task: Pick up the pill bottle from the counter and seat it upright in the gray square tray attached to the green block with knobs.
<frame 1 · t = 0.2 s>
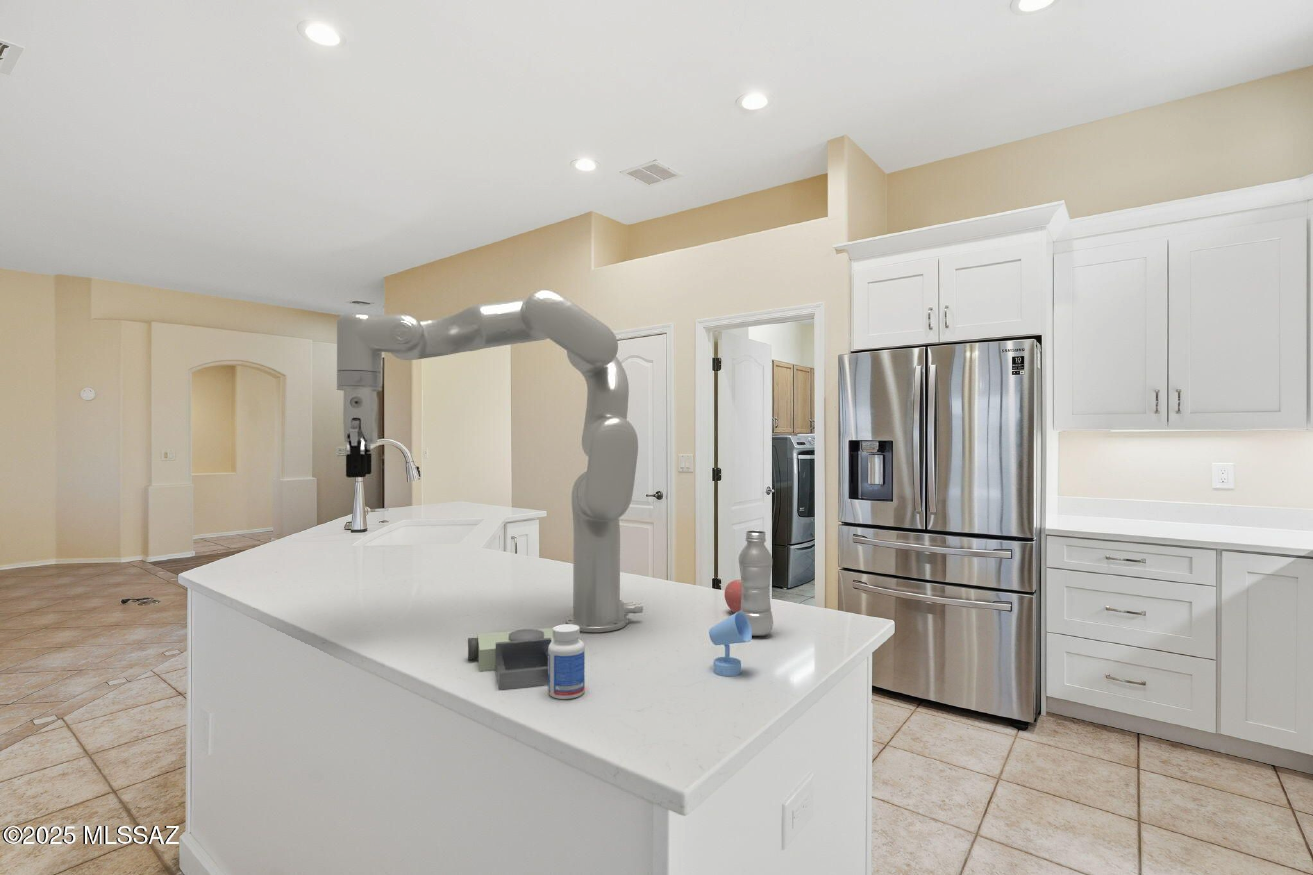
hand: (359, 475, 120), 31 cm above the counter, fingers open, 9 cm apart
gray square tray: (526, 676, 105), on the counter
plastic bottle: (755, 635, 127), on the counter
pill bottle: (566, 694, 98), on the counter
apple: (741, 614, 143), on the counter
spotlight: (729, 672, 107), on the counter
green block with knobs: (520, 658, 113), on the counter
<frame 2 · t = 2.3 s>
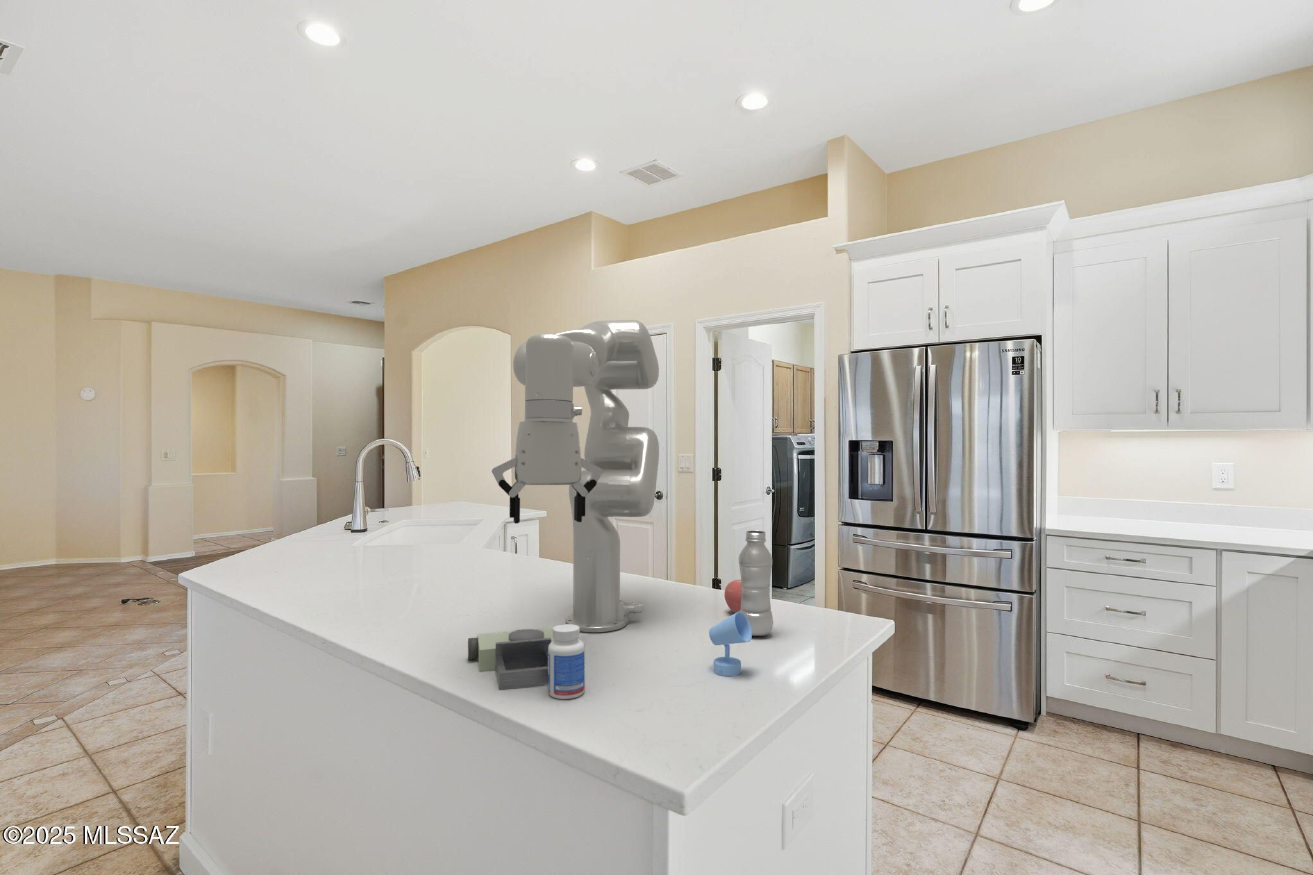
hand: (547, 521, 103), 25 cm above the counter, fingers open, 9 cm apart
nothing on the counter moved.
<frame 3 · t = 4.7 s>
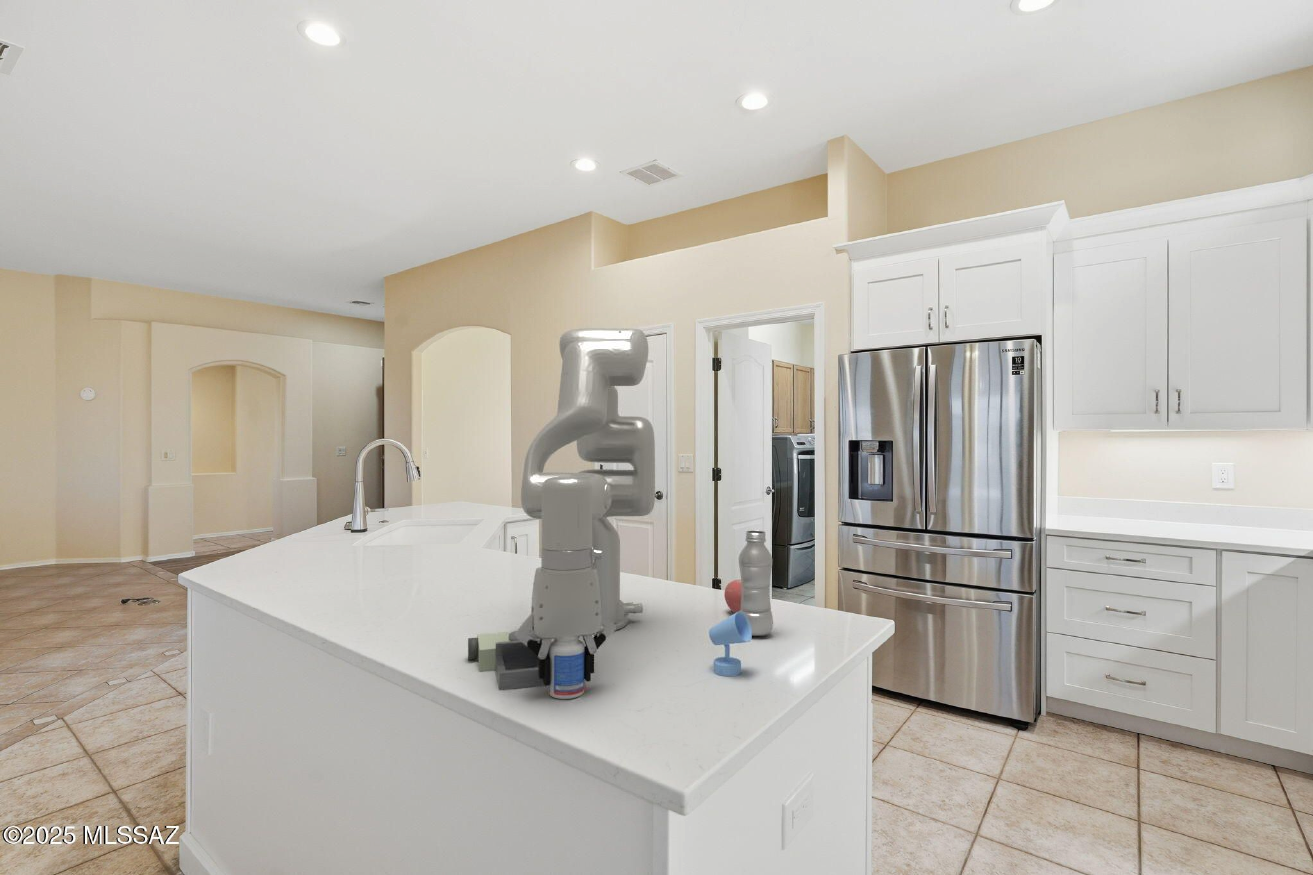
hand: (566, 679, 98), 2 cm above the counter, fingers closed on pill bottle, 5 cm apart
pill bottle: (566, 694, 98), on the counter, touching gripper
everything else where it was.
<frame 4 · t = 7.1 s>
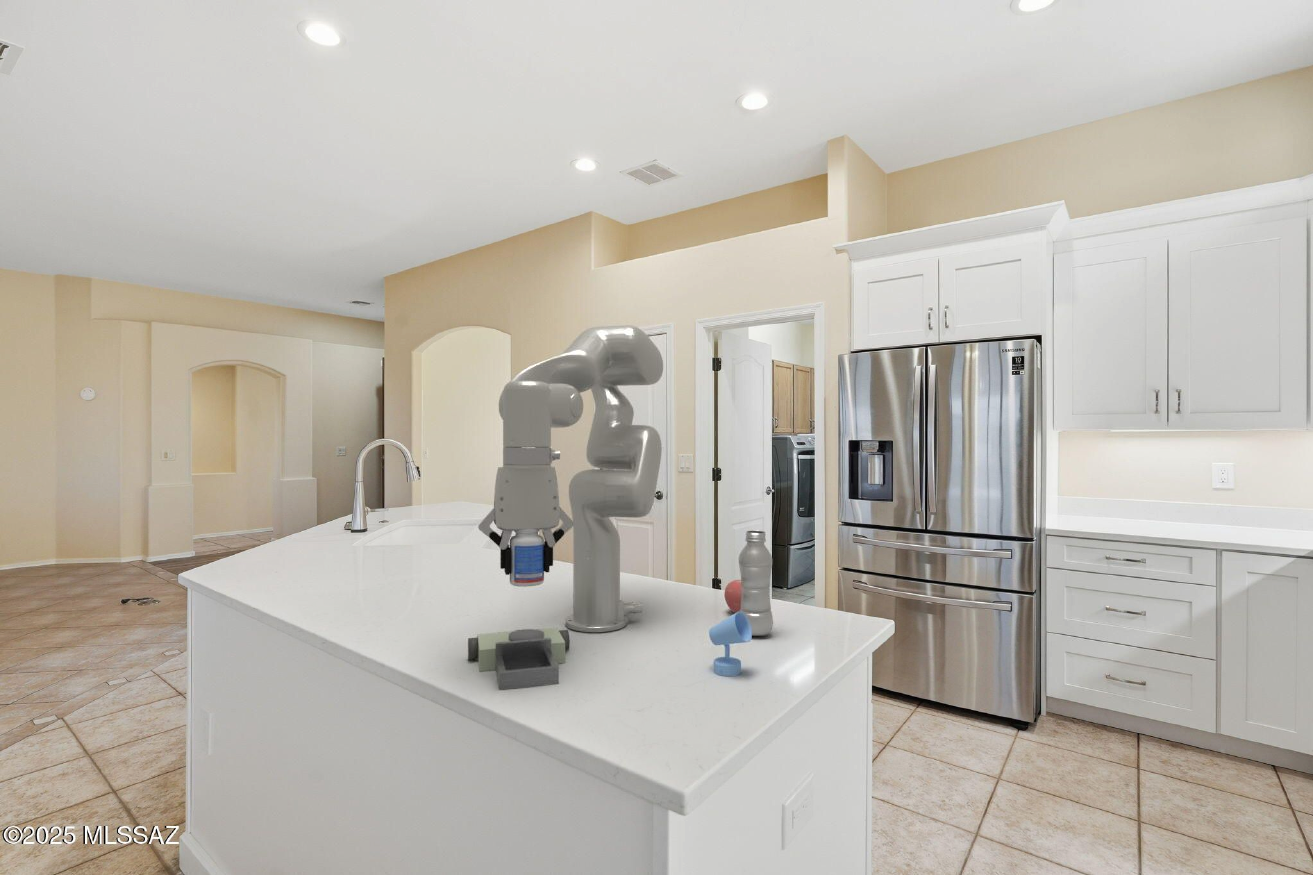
hand: (526, 570, 105), 17 cm above the counter, fingers closed on pill bottle, 5 cm apart
pill bottle: (526, 584, 105), point 15 cm above the counter, touching gripper
everything else where it was.
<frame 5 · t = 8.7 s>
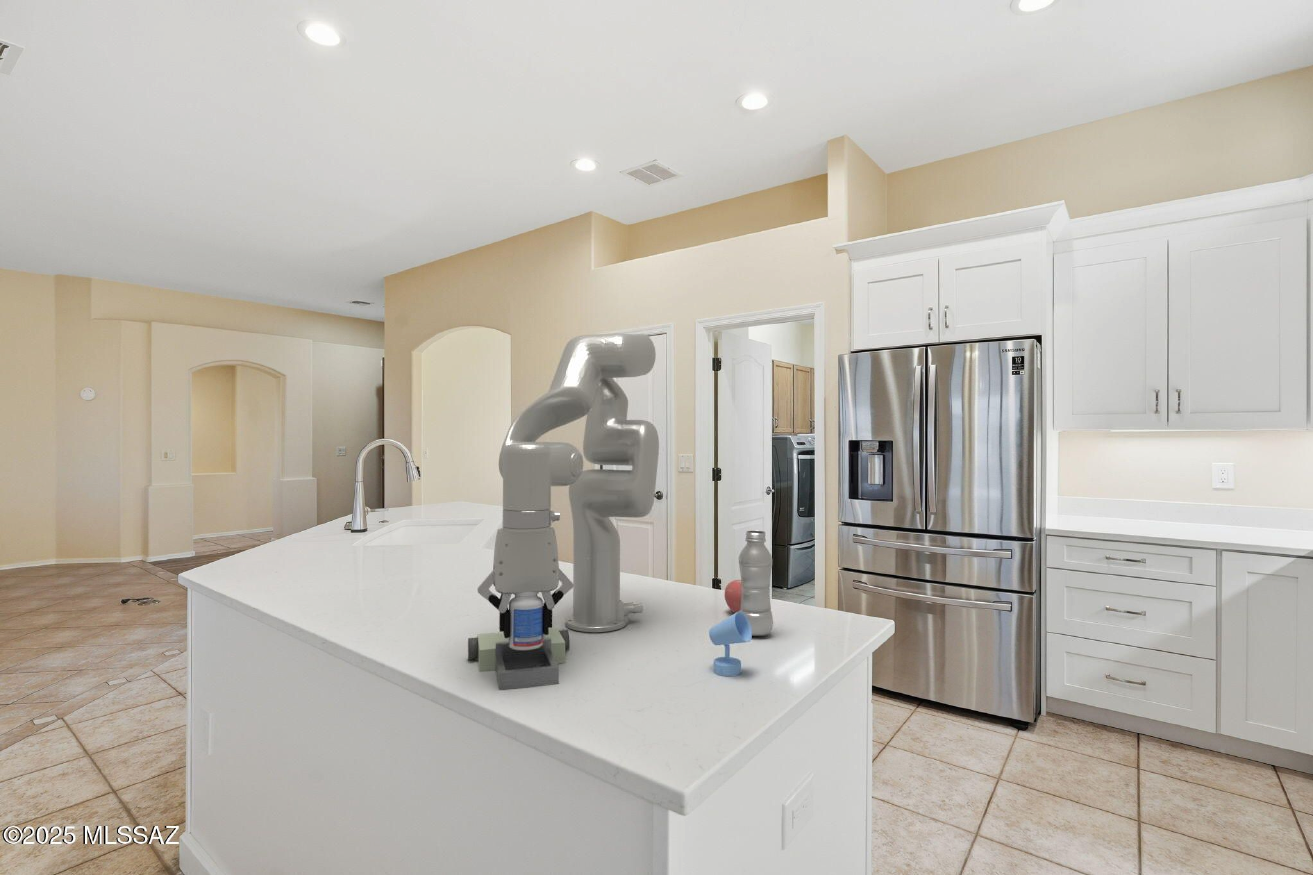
hand: (525, 633, 104), 7 cm above the counter, fingers closed on pill bottle, 5 cm apart
pill bottle: (525, 647, 104), point 5 cm above the counter, touching gripper
everything else where it was.
when the fingers open (4 cm above the counter, at t = 9.7 s): pill bottle drops 2 cm, resting on gray square tray.
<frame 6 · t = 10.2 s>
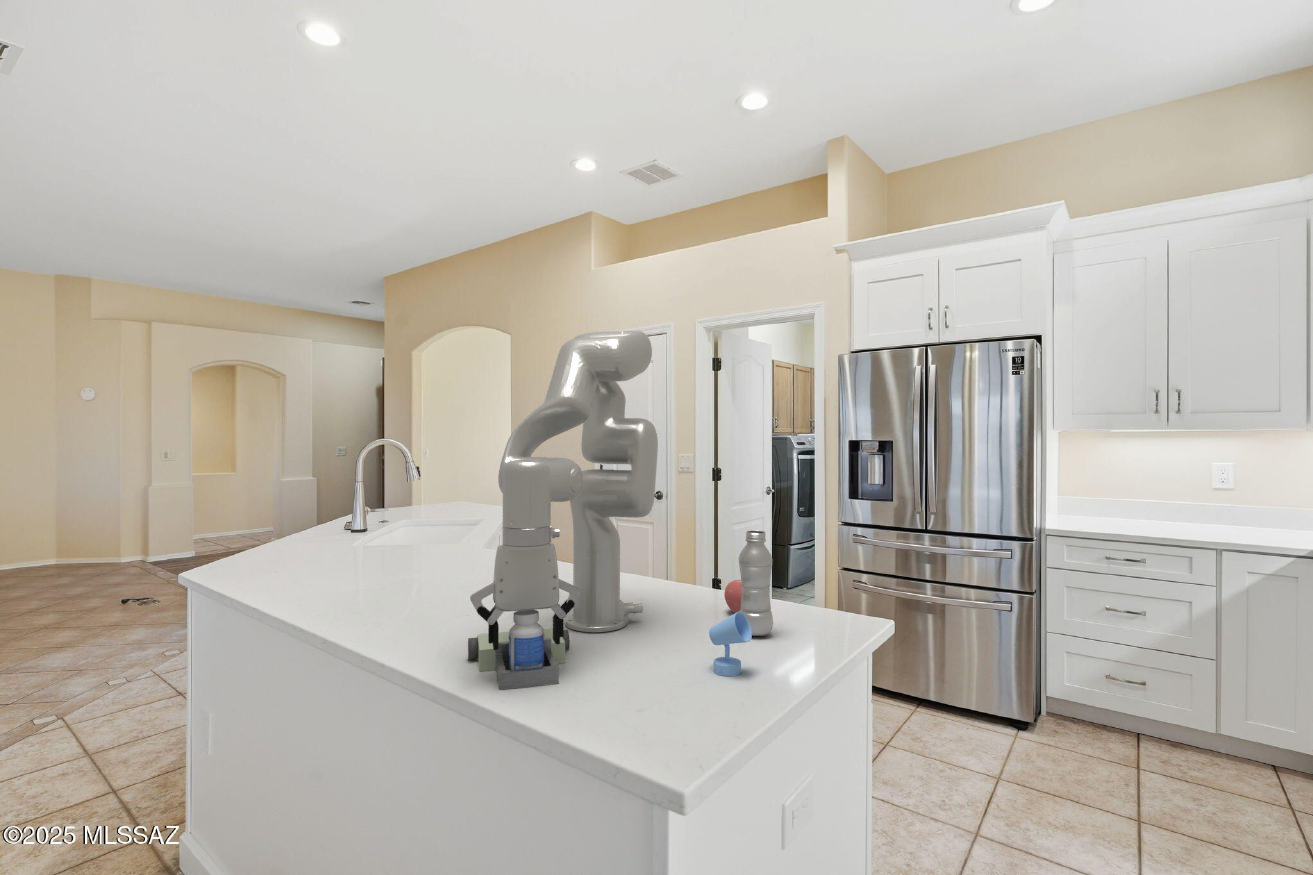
hand: (526, 644, 105), 5 cm above the counter, fingers open, 9 cm apart
pill bottle: (526, 674, 105), resting on gray square tray
everything else where it was.
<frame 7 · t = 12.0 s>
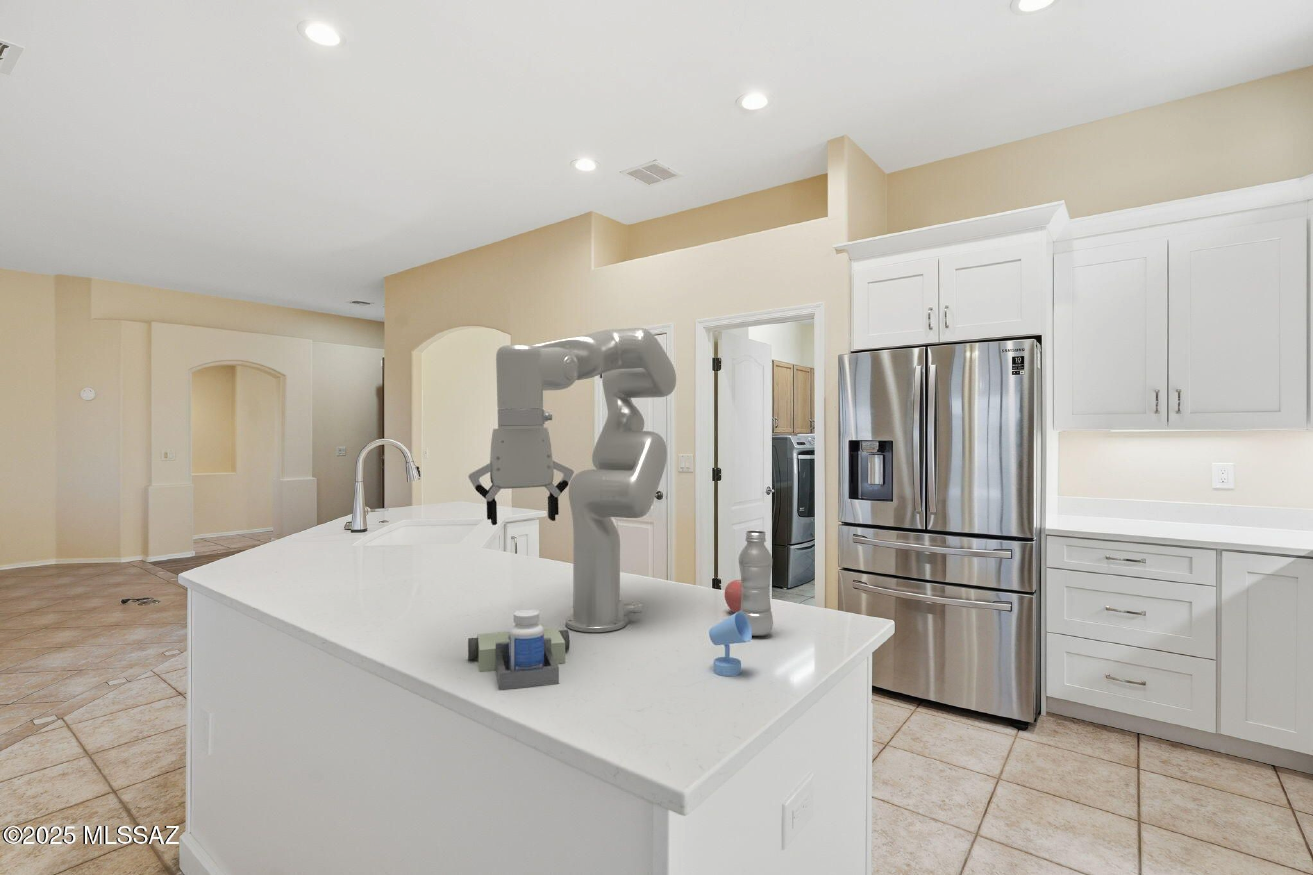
hand: (523, 521, 110), 24 cm above the counter, fingers open, 9 cm apart
nothing on the counter moved.
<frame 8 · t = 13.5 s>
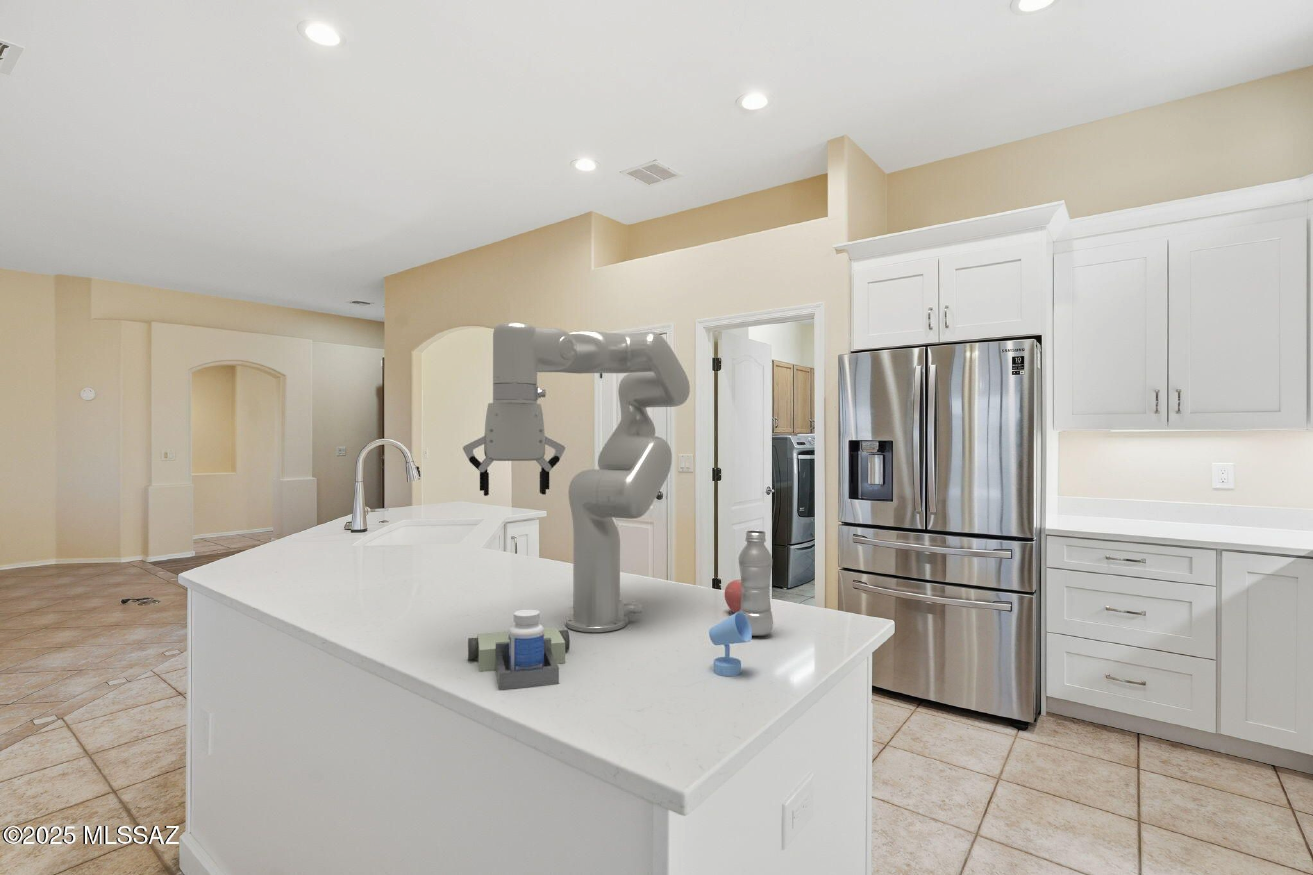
hand: (514, 494, 113), 28 cm above the counter, fingers open, 9 cm apart
nothing on the counter moved.
at the end: pill bottle 0.1 cm off-centre on the gray square tray, point 0.2 cm above the gray square tray's base; pill bottle tilted 0°; the gripper is holding nothing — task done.
